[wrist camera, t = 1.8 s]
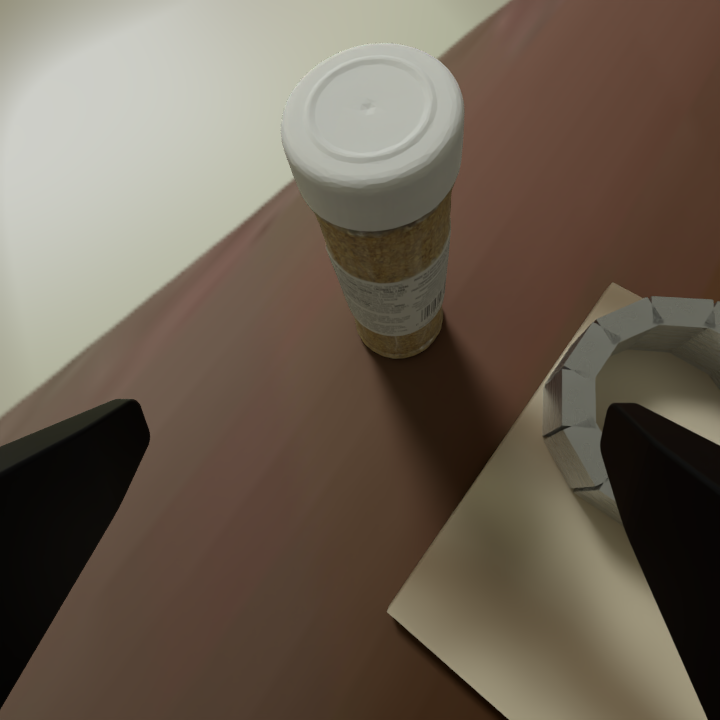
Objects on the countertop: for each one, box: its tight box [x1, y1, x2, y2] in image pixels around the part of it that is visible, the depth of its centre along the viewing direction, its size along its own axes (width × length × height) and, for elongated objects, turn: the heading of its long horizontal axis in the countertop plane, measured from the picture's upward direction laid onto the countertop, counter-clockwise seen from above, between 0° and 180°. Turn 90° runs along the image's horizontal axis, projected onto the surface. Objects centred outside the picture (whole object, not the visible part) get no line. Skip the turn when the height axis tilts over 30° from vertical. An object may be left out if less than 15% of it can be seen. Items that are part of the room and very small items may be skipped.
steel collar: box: [542, 296, 720, 526], centre depth 18 cm, size 9×9×3 cm
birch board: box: [387, 282, 720, 720], centre depth 19 cm, size 18×13×1 cm
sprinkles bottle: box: [281, 43, 464, 359], centre depth 17 cm, size 5×5×14 cm
